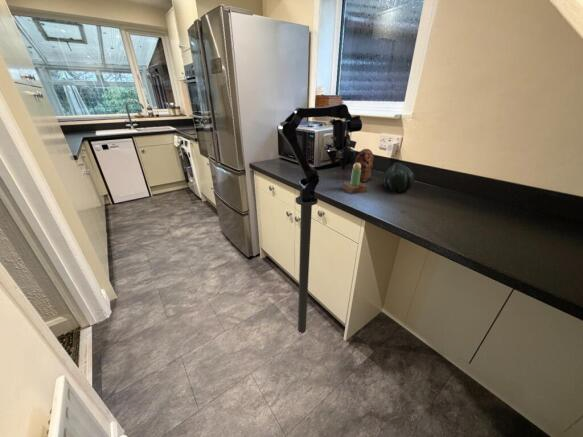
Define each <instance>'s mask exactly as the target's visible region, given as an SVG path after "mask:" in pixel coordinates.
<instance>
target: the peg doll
mask: <svg viewBox="0 0 583 437" xmlns="http://www.w3.org/2000/svg"><path fill="white" fill-rule="evenodd" d="M360 175H361V164H360V163H355V162H354V164H353V165H352V169H351V176H350V182H351V185H353V186H358V185H359V181H360Z"/></svg>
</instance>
